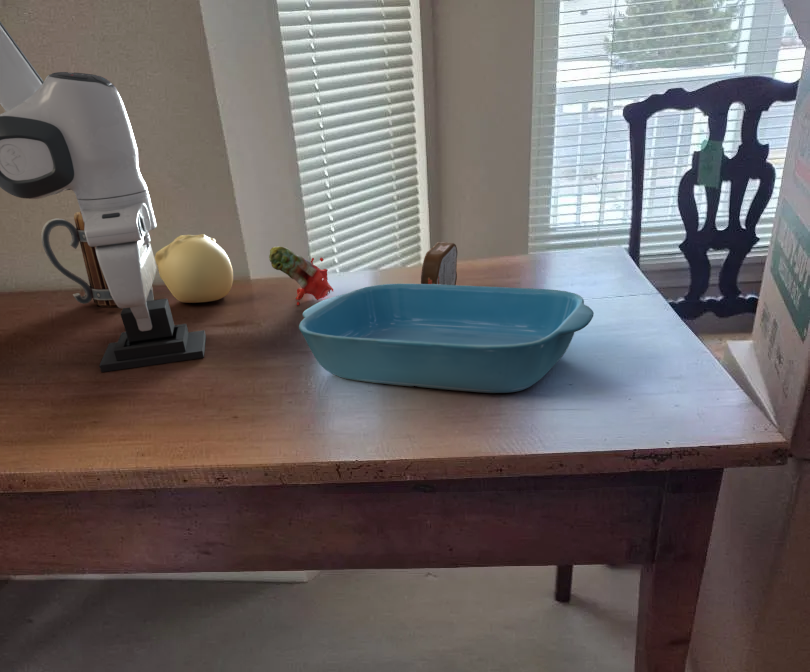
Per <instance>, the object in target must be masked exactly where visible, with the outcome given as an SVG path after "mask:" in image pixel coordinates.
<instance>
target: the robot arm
mask: <svg viewBox="0 0 810 672" xmlns="http://www.w3.org/2000/svg"><path fill="white" fill-rule="evenodd" d="M0 106H1V107H2V108H3V110H4V112H2V113H0V189H2V190H3V191H5V192H6V193H8V194H9V195H10V196H13V197H16V198H21V199H25V200H27V199H28V200H40V199H44V198H47V197H50V196H54V195H57V194H60V193H62V192H64V191H73V193H74V194H75V197H76V201H77V204H78V208H79V210H80V211H81V214H82V218H83V221H84V232H85V236H86V239H87V242H88V245H89V246H90V247H95V246H96V248H95V250H96V255H97V258H98V261H99V264H100V267H101V270H102V272H103V275H104V278H105V280H106V283H107V286H108V288H109V291H110V293H111V296H112V298H113V300H114V302H115V303H116V305H117V306H118V307H117V308H118V309H123V308H130V309H131V311H132V313H133V315H134V317H135V319H136V321H137V325H138V328H139V330H140V331H148V330H151V329H152V326H153V323H152V319H151V316H150V314H149V311H148V308H147V302H146V301H152V300H155V298H154V297H155V296H154V288H153V284H154V281H155V278H156V275H157V273H158V266H157V264H156V261H155V255H154V252H153V248H152V244H151V241H152V240H151V236H150V232H151V231H153V230H155V229H156V228H157V227H158V224H157V220H156V217H155V213H154V209H153V208H154V207H153V205H152V201H151V197H150V196H151V195H150V194H149V189H148V186H147V183H146V181H145V179H144V178H143V176H142V173H141V170H140V166H139V149H138V146H137V142H136V139H135V135H134V132H133V128H132V125H131V122H130V118H129V116H128V113H127V110H126V109H127V108H126V107H125V104H124V101H123V99H122V96H121V95H120V92H119V90H118V89H117V87H116V86H115V84H114V83H112V82H111V81H110V80H108V79H107V78H105V77H104V76H101V75H96V74H92V73H83V72H68V71H56V72H52V73H50V74H48V75H47V76H46V77H45V79H44V80H43V78H42V77H41V76H40V74H39V73H38V71H37V70H36V68H35V67H34V66H33V65H32V63H31V62H30V60H29V59H28V58H27V56H26V54H25V53H24V52H23V51H22V49H21V48H20V47H19V45H18V44H17V42H16V41H15V39H14V38H13V37H12V35H11V34H10V33H9V31H8V30H7V28H6V27H5V25H4V24H3V23H2V21H1V20H0Z"/></svg>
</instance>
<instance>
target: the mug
mask: <svg viewBox="0 0 810 672" xmlns="http://www.w3.org/2000/svg"><path fill="white" fill-rule="evenodd" d="M73 220H74V223H75V225H74V224H73V223H72V222H69V221H68V220H66V219H63V218H51V219H49V220H47V221H46V222H45V223H44V224H43V227H42V229H41V234H40V239H41V245H42V248H43V250H44V252H45V254H46V256H47V258H48V260H49V261H50V263H51V264H52V265H53V266H54V268H55V269H57V271H59V272H60V273H61V274H62V275H63V276H65V277H67V278H68V279H69V280H71V281H73V282H75V283H76V284H78V285H79V286H81V287H82V288H83V290H84V295H83V296H82V295H81V294H80V292H76V293H73V294H72V296H73V298H74V299H75V300H76V301H77V302H78V303H80V304H84V305H86V304H89V303H90V302H91V301H92V300H93V301H92V302H93V303H94V304H96V305H97V306H99V307H102V308H119V307H118V306H117V305H116V303H115V302H114V300H113V298H112V296H111V293H110V291H109V288H108V286H107V283H106V280H105V278H104V275H103V272H102V270H101V267H100V264H99V261H98V258H97V255H96V250H95V248H96V246H95V247H90V246H89V245H88V242H87V239H86V236H85V232H84V221H83V218H82V214H81V210H80V211H76V212H74V214H73ZM56 227H65V228H66V229H67V230H68V231H69V233H70V236H71V239H70V242H69V244H68V245H69V246H71V248H73V249H75V250H77V248H78V247H79V245H80V248H81V253H82V258H83V262H84V266H85V271H86V274H87V279H88V283H89V284H88V283H87V281H85V280H84V279H82V278H81V276H80V277H79V276H78V275H76V274H74V273H73V272H72V271H70V270H69V269H67V268H65V267H64V266H63V265H62V264H61V262H59V260H58V259H57V257H56V255H55V253H54V251H53V249H52V247H51V243H50V234H51V232H52V231H53V229H54V228H56Z"/></svg>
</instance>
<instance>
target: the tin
mask: <svg viewBox="0 0 810 672" xmlns="http://www.w3.org/2000/svg"><path fill="white" fill-rule="evenodd" d="M457 260H458V247H457V245H456V244H455V243H454V242H447V241H441V240H439V241H438V242H436V243H435V244H434V245H433V246H432V247H431V248H429V250H428V251H426V253H425V255H424V258H423V262H422V267H421V273H420V284H439V285H457V279H458V278H457V277H458V273H457V266H458V265H457V264H458V261H457Z"/></svg>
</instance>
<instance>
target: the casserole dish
mask: <svg viewBox="0 0 810 672" xmlns="http://www.w3.org/2000/svg"><path fill="white" fill-rule="evenodd" d="M302 317H303V319H302V320H301V321H300V322H299V324H298V329H299V331H300V332H301V335H302V337H303V338H304V340H305V342H306V344H307V346H308V348H309V350H310V351H311V354H312V355H313V356H314V358H315V359H316V361H317V362H318V364H319V365H320V366H321V367H322V368H323V370H325V371H327V372H329V373H330V374H332V375H335V376H336V377H339V378H342V379H344V380H345V379H346V380H351V381H357V382H358V381H359V382H365V383H374V384H385V385H394V386H405V387H414V386H415V387H418V388H427V389H436V390H449V391H460V392H470V393H471V392H472V393H484V394H485V393H488V394H496V393H497V394H505V393H507V394H508V393H509V394H510V393H515V392H521V391H524V390H526V389H529V388H530V387H532V386H534V385H535V384H536V383H538V382H539V381H540V380H541V379H543V378H544V377H545V376H546V375H547V374H548V373H549V371H551V370H552V368H554V366H556V364H557V363H558V361H560V359H562V357H563V356H564V355H565V353H566V352H567V350H568V348H569V347H570V344H571V342H572V340H573V337H574V335H575V333H576V332H578V331H581V330H583V329H584V328H586V327H587V326H589V324H590V323H591V321H592V320H593V317H594V310H593V309H592V308H591V307H589V306H588V305H586V304H585V300H584V297H582V296H581V295H579V294H578V293H575V292H571V291H567V290H560V289H549V288H533V287H532V288H528V287H507V286H506V287H505V286H487V285H485V286H484V285H460V284H459V285H458V284H456V285H439V284H421V283H384V284H374V285H370V286H364V287H361V288H358V289H355V290H352V291H349V292H347V293H344V294H340V295H335V296H332V297H329V298H326V299H323V300H321V301H319V302H317V303H315V304H313V305H311V306H310V307H308V308H307V309H305V310H304V311H303V312H302Z"/></svg>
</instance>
